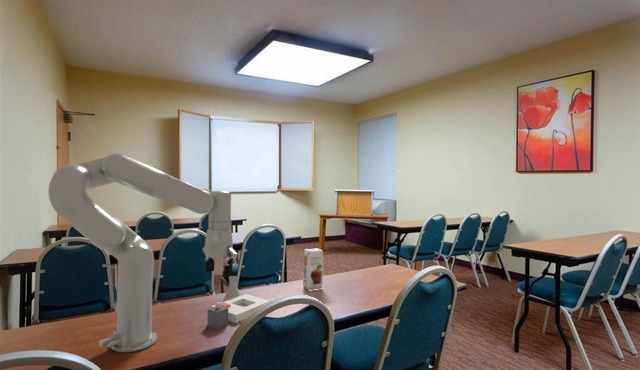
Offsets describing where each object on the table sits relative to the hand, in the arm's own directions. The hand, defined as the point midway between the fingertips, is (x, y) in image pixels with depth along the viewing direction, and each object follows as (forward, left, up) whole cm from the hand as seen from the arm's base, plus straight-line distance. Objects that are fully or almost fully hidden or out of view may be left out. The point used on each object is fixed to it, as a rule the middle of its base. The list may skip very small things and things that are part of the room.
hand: (219, 273), depth 120 cm
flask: (+20, +15, -19) cm, 31 cm away
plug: (0, 0, -18) cm, 18 cm away
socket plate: (+14, +3, -18) cm, 23 cm away
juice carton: (+54, -3, -18) cm, 57 cm away
